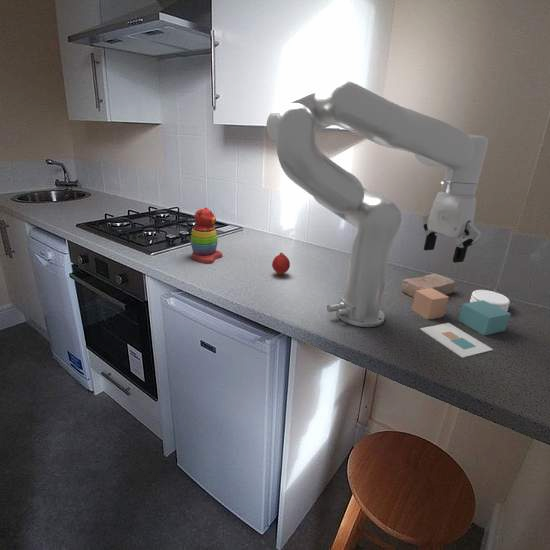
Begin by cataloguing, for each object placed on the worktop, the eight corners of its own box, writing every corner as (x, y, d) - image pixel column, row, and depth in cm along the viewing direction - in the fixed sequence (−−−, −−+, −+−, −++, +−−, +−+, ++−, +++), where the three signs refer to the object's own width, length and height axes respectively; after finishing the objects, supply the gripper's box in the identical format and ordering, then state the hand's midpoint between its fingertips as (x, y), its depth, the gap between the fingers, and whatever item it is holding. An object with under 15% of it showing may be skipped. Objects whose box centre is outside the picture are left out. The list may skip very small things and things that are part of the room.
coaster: (473, 296, 114) (476, 286, 113) (509, 307, 108) (513, 296, 107) (465, 306, 107) (468, 295, 105) (503, 318, 101) (507, 307, 100)
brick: (431, 283, 122) (434, 271, 120) (454, 293, 115) (458, 279, 114) (399, 293, 113) (402, 279, 111) (422, 304, 107) (425, 289, 105)
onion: (273, 270, 123) (275, 248, 120) (290, 273, 122) (292, 250, 119) (269, 276, 118) (271, 253, 114) (287, 279, 117) (289, 255, 114)
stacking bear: (210, 264, 124) (210, 213, 118) (184, 259, 127) (183, 209, 120) (224, 255, 134) (225, 208, 127) (200, 251, 137) (199, 204, 130)
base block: (483, 335, 91) (489, 317, 89) (457, 320, 97) (462, 303, 96) (505, 330, 94) (511, 313, 92) (478, 316, 101) (483, 300, 99)
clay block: (427, 319, 97) (432, 299, 95) (411, 309, 102) (415, 290, 100) (443, 316, 99) (448, 297, 97) (427, 307, 104) (431, 288, 102)
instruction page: (462, 357, 81) (462, 356, 81) (419, 329, 92) (420, 328, 91) (492, 350, 84) (493, 349, 84) (448, 323, 95) (448, 322, 95)
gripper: (420, 183, 94) (408, 246, 100) (478, 195, 79) (459, 268, 86) (442, 183, 97) (428, 244, 103) (501, 195, 82) (481, 265, 88)
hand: (442, 255), depth 94 cm, fingers open, 9 cm apart
